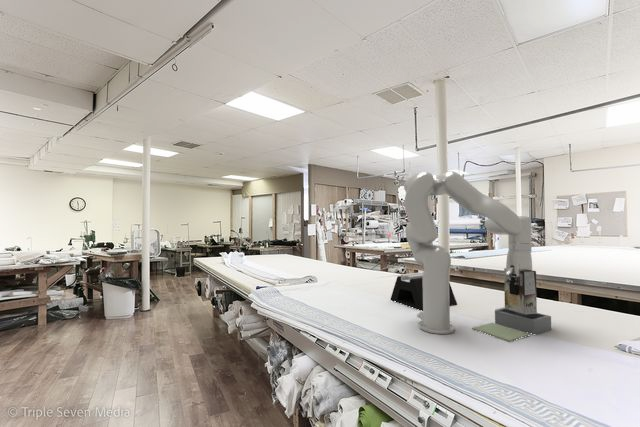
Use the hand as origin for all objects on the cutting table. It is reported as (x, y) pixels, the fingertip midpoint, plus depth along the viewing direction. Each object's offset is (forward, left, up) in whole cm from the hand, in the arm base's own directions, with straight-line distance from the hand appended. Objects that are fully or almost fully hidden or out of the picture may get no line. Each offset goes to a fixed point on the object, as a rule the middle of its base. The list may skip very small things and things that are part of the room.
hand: (520, 293), depth 118 cm
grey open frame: (0, 0, -13) cm, 13 cm away
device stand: (-44, -6, -13) cm, 46 cm away
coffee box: (0, 0, -7) cm, 7 cm away
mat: (0, -14, -13) cm, 19 cm away
